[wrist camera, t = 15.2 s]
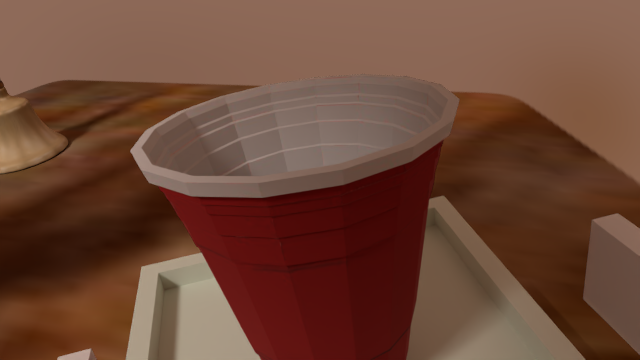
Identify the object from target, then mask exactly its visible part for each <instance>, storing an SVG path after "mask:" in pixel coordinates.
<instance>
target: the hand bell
mask: <svg viewBox="0 0 640 360" xmlns="http://www.w3.org/2000/svg"><path fill="white" fill-rule="evenodd" d="M67 145H68V139H67V138H66V137H65V136H63V135H62V134H60V133H56V132H54V131H53V130H51V129H50V128H48V127H47V126H46V125H45V124H44V123H43V122H42V121H41V120H40V118H39V117H38V116H37V114H36V113H35V111H34V110H33V108H32V107H31V105H30V103H29V101H28V100H27V99H25V98H21V97H14V96H10V95H9V94H8V93H7V91H6V89H5V87H4V84H3V82H2V81H0V174H4V173H10V172H15V171H19V170H22V169H26V168H28V167H31V166H35V165H37V164H40V163H42V162H44V161H47V160H49V159H51V158H52V157H54V156H55V155H57V154H58V153H59V152H61V151H63V150H64V149H65V147H66V146H67Z"/></svg>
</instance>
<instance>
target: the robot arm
mask: <svg viewBox="0 0 640 360" xmlns="http://www.w3.org/2000/svg"><path fill="white" fill-rule="evenodd" d="M583 300H584V301H585V302H586V303H588V304H589V305H590V306H591V307H592V308H593V309H594V310H595V311H596V312H597V313H598V314H599V315H600V316H601V317H602V318H603V319H604V320H605V321H606V322H607V323H608V324H609V325H610V326H611V327H612V328H613V329H614V330H615V331H616V332H617V333H618V334H619V335H620V336H621V337H622V338H623V339H624V340H625V341H626V342H627V343H628V344H629V345H630V346H631V347H632V348H633V349H634V350H635V351H636V352H637V353H638V354H639V355H640V228H638V227H637V226H635V225H634V224H633V223H631V222H630V221H628V220H627V219H625V218H624V217H623V216H621V215H620V214H618V213H616V214H612V215H609V216H605V217H601V218H597V219H593V220H592V223H591V232H590V240H589V249H588V258H587V267H586V276H585V284H584V293H583ZM57 360H97V359H96V357H95V355H94V353H93V351H92V349H88V350H84V351H80V352H76V353H72V354H68V355H64V356H60V357H58V359H57Z"/></svg>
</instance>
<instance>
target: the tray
mask: <svg viewBox="0 0 640 360" xmlns="http://www.w3.org/2000/svg"><path fill="white" fill-rule="evenodd" d="M126 360H261V359H260V357H259V355H258V354H256V353H255V351H254V349H253V348H252V346H251V344H250V342H249V341H248V339H247V337H246V335H245V333H244V332H243V330H242V328H241V326H240V324H239V322H238V320H237V319H236V317H235V315H234V313H233V311H232V309H231V307H230V305H229V303H228V302H227V300H226V298H225V296H224V294H223V292H222V290H221V288H220V286H219V285H218V283H217V281H216V279H215V277H214V275H213V273H212V271H211V270H210V268H209V266H208V264H207V262H206V260H205V258H204V256H203V254H202V253H198V254H194V255H189V256H185V257H181V258H177V259H173V260H168V261H164V262H160V263H156V264H151V265H147V266H143V267H142V268H141V274H140V280H139V286H138V291H137V297H136V303H135V309H134V315H133V321H132V327H131V332H130V338H129V344H128V350H127V356H126ZM406 360H585V358H584V357H583V356H582V355H581V354H580V353H579V351H578V350H577V349H576V348H575V347H574V346H573V344H572V343H571V342H570V341H569V340H568V339H567V338H566V336H565V335H564V334H563V333H562V332H561V331H560V329H559V328H558V327H557V326H556V325H555V324H554V323H553V321H552V320H551V319H550V318H549V317H548V316H547V314H546V313H545V312H544V311H543V310H542V309H541V307H540V306H539V305H538V304H537V303H536V302H535V301H534V299H533V298H532V297H531V296H530V295H529V294H528V292H527V291H526V290H525V289H524V288H523V287H522V285H521V284H520V283H519V282H518V281H517V280H516V279H515V277H514V276H513V275H512V274H511V273H510V272H509V270H508V269H507V268H506V267H505V266H504V265H503V263H502V262H501V261H500V260H499V259H498V258H497V257H496V255H495V254H494V253H493V252H492V251H491V250H490V248H489V247H488V246H487V245H486V244H485V243H484V242H483V240H482V239H481V238H480V237H479V236H478V235H477V233H476V232H475V231H474V230H473V229H472V228H471V226H470V225H469V224H468V223H467V222H466V221H465V220H464V218H463V217H462V216H461V215H460V214H459V213H458V211H457V210H456V209H455V208H454V207H453V206H452V204H451V203H450V202H449V201H448V200H447V199H446V198H445V196H440V197H435V198H431V199H429V206H428V213H427V221H426V229H425V237H424V245H423V253H422V260H421V268H420V276H419V284H418V292H417V299H416V305H415V309H414V314H413V318H412V323H411V330H410V338H409V347H408V353H407V358H406Z"/></svg>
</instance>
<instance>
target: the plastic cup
mask: <svg viewBox="0 0 640 360" xmlns="http://www.w3.org/2000/svg"><path fill="white" fill-rule="evenodd" d="M459 100H460V99H459V98H457V97H456V96H455V95H454V94H452V93H451V92H450V91H449V90H447V89H446V88H445V87H443V86H442V85H441V84H437V83H433V82H428V81H425V80H420V79H416V78H412V77H407V76H390V75H389V76H388V75H367V74H360V75H344V76H330V77H314V78H308V79H302V80H296V81H289V82H282V83H276V84H270V85H265V86H261V87H257V88H252V89H248V90H244V91H240V92H236V93H232V94H228V95H224V96H220V97H217V98H215V99H212V100H209V101H207V102H204V103H201V104H198V105H196V106H193V107H190V108H187V109H185V110H182V111H179V112H177V113H175V114H174V115H172V116H170V117H168V118H167V119H165V120H163V121H161V122H160V123H158V124H156V125H154V126H153V127H151V128H149V129H147V130H146V131H145V132H144V133H143V135H142V136H141V137H140V139H139V140H138V141H137V143H136V144H135V145H134V147H133V148H132V149H131V153H132V155H133V157H134V159H135V160H136V162H137V164H138V166H139V168H140V170H141V171H142V173H143V174H144V176H145V177H146V179H147V180H148V182H149V183H151V184H154V185H157V186H158V188H159V189H160V191H162V192H163V193H164V194H165V196H166V198H167V199H168V201H170V203H171V205H172V206H173V208H174V210H175V212H176V213H177V215H178V217H179V218H180V220H181V221H182V222H183V224H184V226H185V227H186V229H187V231H188V233H189V234H190V236H191V238H192V239H193V241H194V243H195V245H196V246H197V247H199V249H200V251H201V253H202V254H203V256H204V258H205V260H206V262H207V264H208V266H209V268H210V270H211V271H212V273H213V275H214V277H215V279H216V281H217V283H218V285H219V286H220V288H221V290H222V292H223V294H224V296H225V298H226V300H227V302H228V303H229V305H230V307H231V309H232V311H233V313H234V315H235V317H236V319H237V320H238V322H239V324H240V326H241V328H242V330H243V332H244V333H245V335H246V337H247V339H248V341H249V342H250V344H251V346H252V348H253V349H254V351H255V353H256V354H258V355H259V357H260V359H261V360H406V358H407V353H408V347H409V338H410V330H411V323H412V318H413V314H414V309H415V305H416V299H417V292H418V284H419V276H420V268H421V260H422V253H423V245H424V237H425V229H426V221H427V213H428V206H429V199H430V196H431V192H432V188H433V185H434V178H435V170H436V167H437V163H438V160H439V157H440V151H441V146H442V144H443V140H444V139H445V138H446V137H448V136H449V135H450V132H451V129H452V125H453V122H454V118H455V115H456V111H457V107H458V104H459Z"/></svg>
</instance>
